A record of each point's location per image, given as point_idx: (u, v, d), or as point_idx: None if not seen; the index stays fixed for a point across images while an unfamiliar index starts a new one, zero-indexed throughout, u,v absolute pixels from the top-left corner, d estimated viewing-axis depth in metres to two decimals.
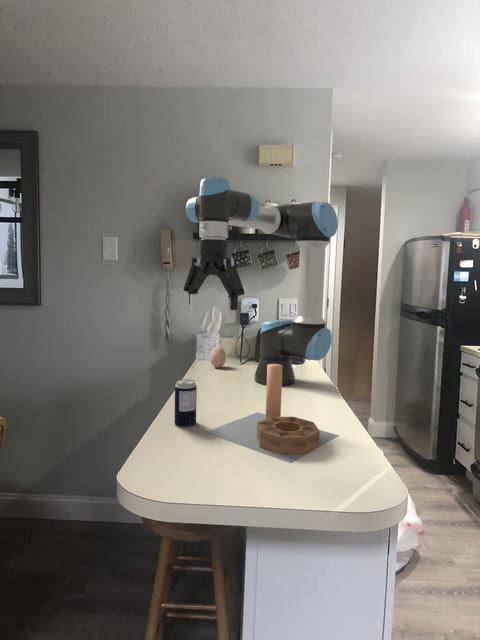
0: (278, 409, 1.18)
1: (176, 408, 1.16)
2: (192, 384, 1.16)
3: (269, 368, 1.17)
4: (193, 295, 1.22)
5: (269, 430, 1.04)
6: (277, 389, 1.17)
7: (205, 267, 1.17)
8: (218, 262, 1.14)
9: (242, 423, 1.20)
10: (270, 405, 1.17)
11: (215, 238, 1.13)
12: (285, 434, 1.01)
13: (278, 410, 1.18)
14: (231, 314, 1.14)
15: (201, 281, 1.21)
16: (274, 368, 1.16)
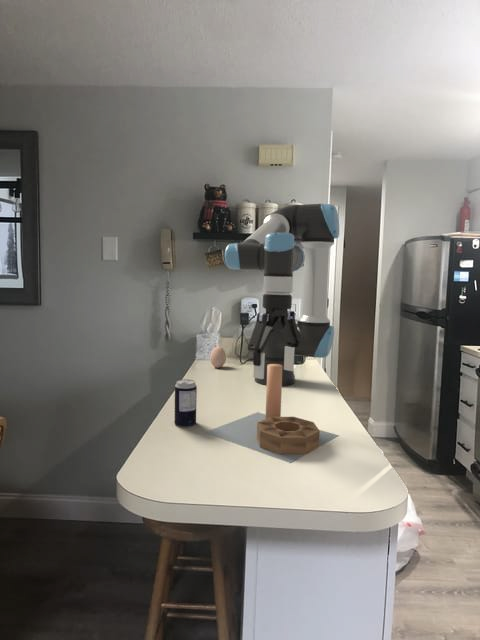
0: (278, 409, 1.18)
1: (176, 408, 1.16)
2: (192, 384, 1.16)
3: (269, 368, 1.17)
4: (286, 347, 1.23)
5: (269, 430, 1.04)
6: (277, 389, 1.17)
7: None
8: None
9: (242, 423, 1.20)
10: (270, 405, 1.17)
11: (266, 293, 1.15)
12: (285, 434, 1.01)
13: (278, 410, 1.18)
14: (257, 369, 1.12)
15: (286, 334, 1.20)
16: (274, 368, 1.16)
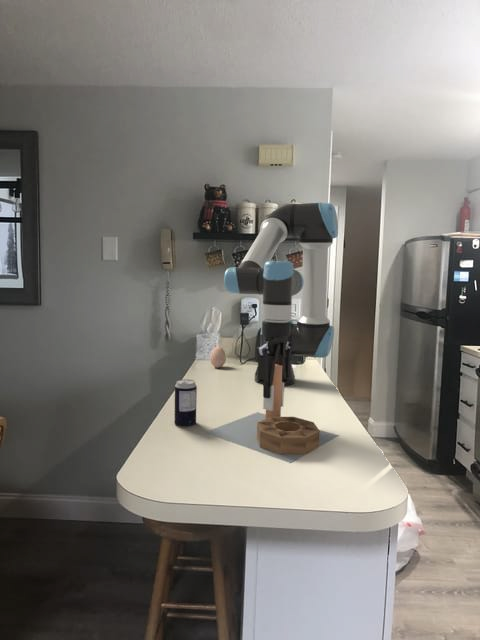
0: (278, 409, 1.18)
1: (176, 408, 1.16)
2: (192, 384, 1.16)
3: None
4: None
5: (269, 430, 1.04)
6: (277, 389, 1.17)
7: None
8: None
9: (242, 423, 1.20)
10: None
11: (265, 320, 1.16)
12: (285, 434, 1.01)
13: (278, 410, 1.18)
14: (266, 401, 1.17)
15: None
16: None
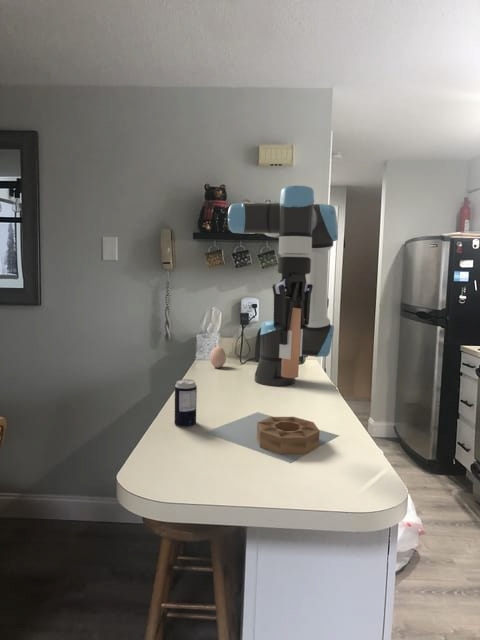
0: (296, 358, 1.03)
1: (176, 408, 1.16)
2: (192, 384, 1.16)
3: None
4: None
5: (269, 430, 1.04)
6: (295, 334, 1.02)
7: None
8: None
9: (242, 423, 1.20)
10: None
11: (281, 255, 1.01)
12: (285, 434, 1.01)
13: (296, 359, 1.03)
14: (283, 349, 1.03)
15: None
16: (292, 310, 1.02)
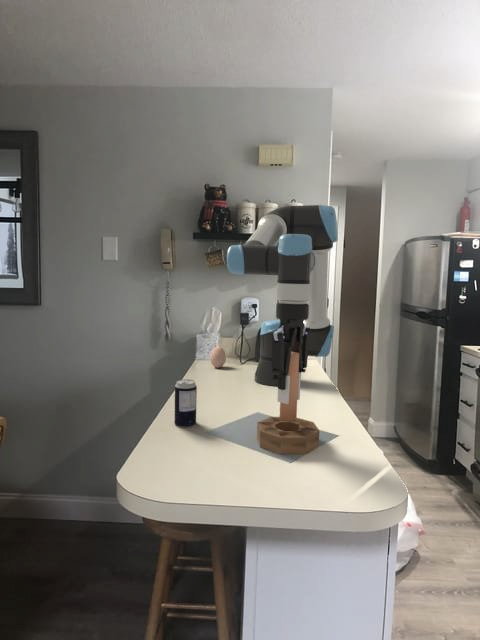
0: (294, 402, 1.04)
1: (176, 408, 1.16)
2: (192, 384, 1.16)
3: None
4: None
5: (269, 430, 1.04)
6: (293, 379, 1.03)
7: None
8: None
9: (242, 423, 1.20)
10: None
11: (280, 301, 1.03)
12: (285, 434, 1.01)
13: (294, 403, 1.04)
14: (281, 393, 1.04)
15: None
16: None
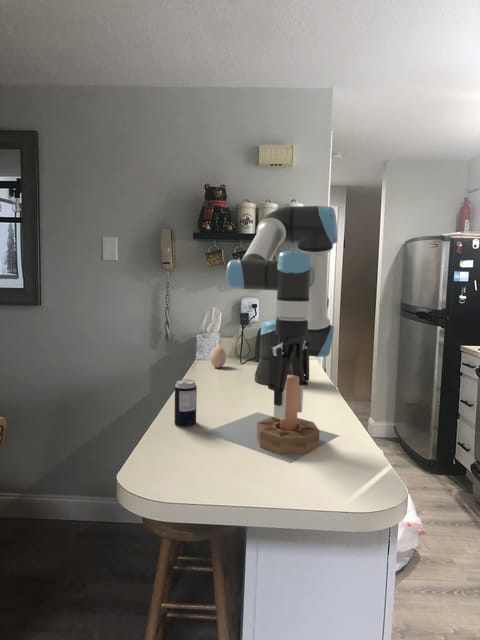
0: (294, 426, 1.05)
1: (176, 408, 1.16)
2: (192, 384, 1.16)
3: None
4: None
5: (269, 430, 1.04)
6: (293, 403, 1.04)
7: None
8: None
9: (242, 423, 1.20)
10: (285, 421, 1.05)
11: (279, 318, 1.03)
12: (285, 434, 1.01)
13: (294, 427, 1.05)
14: (278, 409, 1.03)
15: (296, 367, 1.07)
16: (290, 380, 1.04)
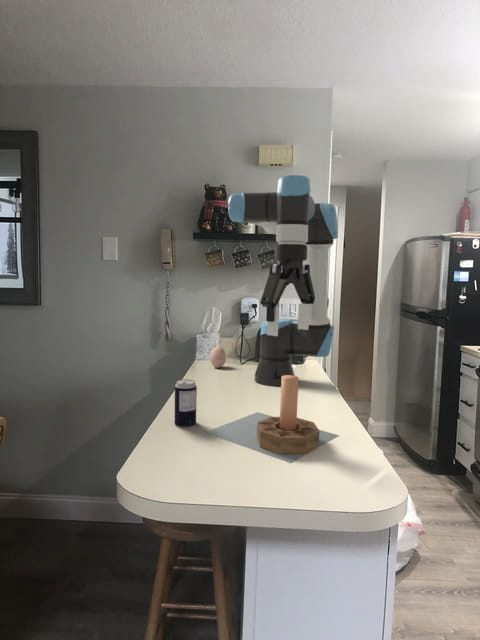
0: (294, 426, 1.05)
1: (176, 408, 1.16)
2: (192, 384, 1.16)
3: (284, 380, 1.04)
4: (300, 304, 1.13)
5: (269, 430, 1.04)
6: (292, 403, 1.04)
7: None
8: None
9: (242, 423, 1.20)
10: (285, 421, 1.05)
11: (279, 243, 1.05)
12: (285, 434, 1.01)
13: (294, 427, 1.05)
14: (270, 326, 1.03)
15: (300, 290, 1.11)
16: (289, 380, 1.04)
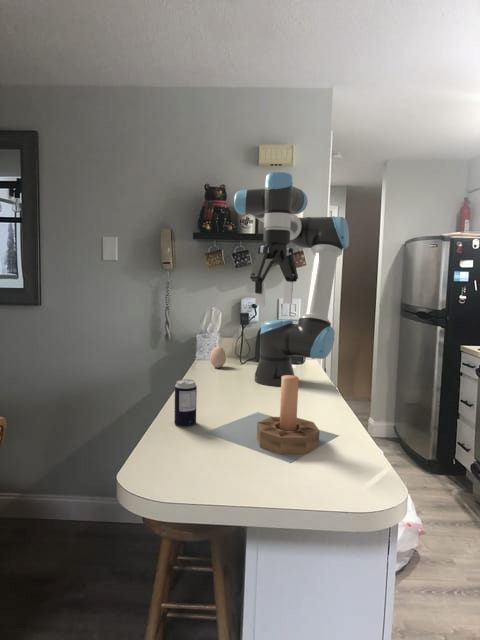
0: (294, 426, 1.05)
1: (176, 408, 1.16)
2: (192, 384, 1.16)
3: (284, 380, 1.04)
4: (285, 282, 1.34)
5: (269, 430, 1.04)
6: (292, 403, 1.04)
7: None
8: None
9: (242, 423, 1.20)
10: (285, 421, 1.05)
11: (266, 229, 1.26)
12: (285, 434, 1.01)
13: (294, 427, 1.05)
14: (258, 297, 1.23)
15: (285, 269, 1.31)
16: (289, 380, 1.04)
